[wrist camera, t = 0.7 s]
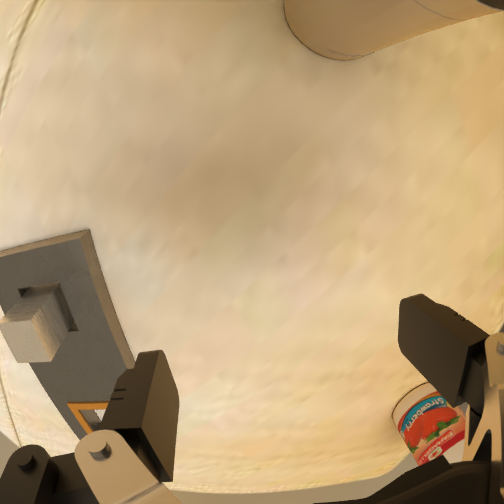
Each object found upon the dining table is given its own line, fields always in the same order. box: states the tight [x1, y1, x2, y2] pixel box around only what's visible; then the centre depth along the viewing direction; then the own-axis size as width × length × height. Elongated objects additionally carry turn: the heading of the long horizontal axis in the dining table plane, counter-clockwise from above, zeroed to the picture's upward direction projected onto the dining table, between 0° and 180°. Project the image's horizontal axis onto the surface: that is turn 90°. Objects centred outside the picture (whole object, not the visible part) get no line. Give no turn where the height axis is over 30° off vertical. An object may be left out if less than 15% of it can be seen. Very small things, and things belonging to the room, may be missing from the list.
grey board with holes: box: [0, 230, 135, 440], centre depth 29 cm, size 28×12×3 cm, turn 8°
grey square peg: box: [0, 282, 74, 363], centre depth 24 cm, size 4×4×8 cm
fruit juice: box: [393, 383, 466, 466], centre depth 28 cm, size 9×9×28 cm
